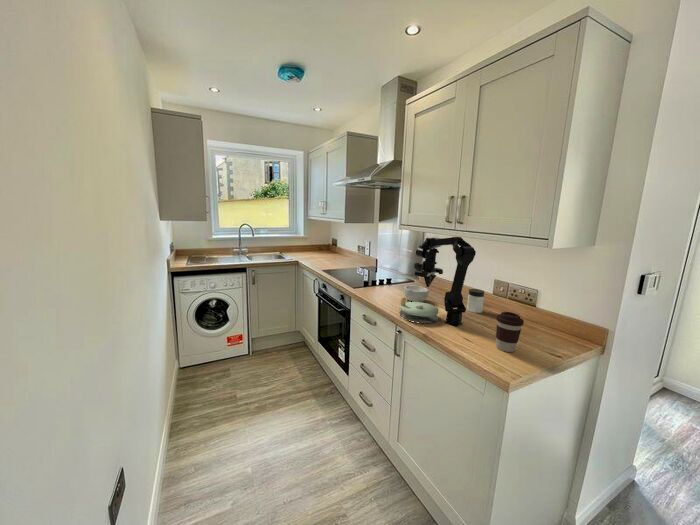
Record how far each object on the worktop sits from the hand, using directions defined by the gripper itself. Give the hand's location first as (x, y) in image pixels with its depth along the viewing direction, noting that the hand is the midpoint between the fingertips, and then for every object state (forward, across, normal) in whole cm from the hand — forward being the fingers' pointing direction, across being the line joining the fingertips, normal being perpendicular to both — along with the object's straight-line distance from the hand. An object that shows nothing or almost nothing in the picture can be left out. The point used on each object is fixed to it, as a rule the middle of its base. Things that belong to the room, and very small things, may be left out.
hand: (427, 286), depth 166 cm
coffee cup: (+13, +12, +50) cm, 53 cm away
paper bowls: (+13, -8, -14) cm, 21 cm away
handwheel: (+9, +14, +6) cm, 18 cm away
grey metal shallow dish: (+13, +14, +6) cm, 20 cm away
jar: (+13, -23, +17) cm, 31 cm away
